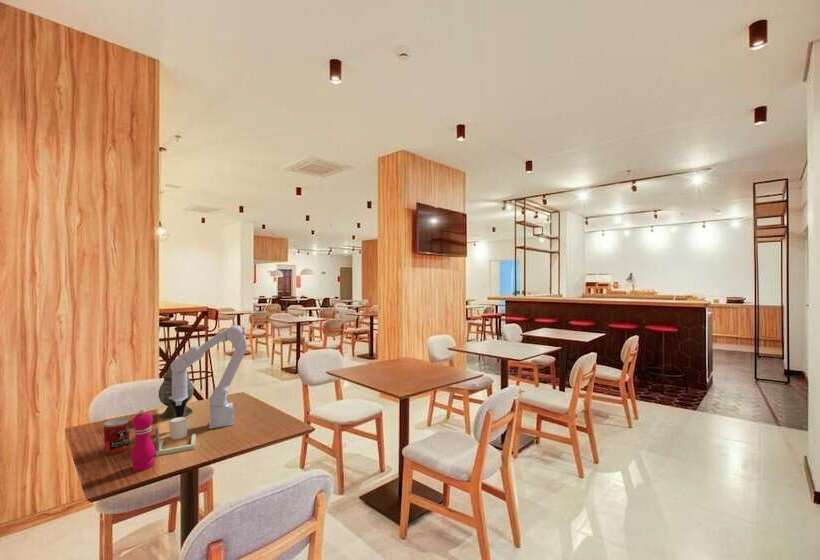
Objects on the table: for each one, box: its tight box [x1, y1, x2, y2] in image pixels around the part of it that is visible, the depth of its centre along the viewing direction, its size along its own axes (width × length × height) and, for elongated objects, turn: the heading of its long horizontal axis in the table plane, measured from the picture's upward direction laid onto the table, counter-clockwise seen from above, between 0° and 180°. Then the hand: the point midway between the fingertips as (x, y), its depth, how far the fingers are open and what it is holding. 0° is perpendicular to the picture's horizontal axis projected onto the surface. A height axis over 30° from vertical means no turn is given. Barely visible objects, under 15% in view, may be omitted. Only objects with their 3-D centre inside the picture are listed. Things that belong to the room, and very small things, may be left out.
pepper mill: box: [129, 408, 157, 472], centre depth 136 cm, size 7×7×20 cm
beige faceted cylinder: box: [168, 416, 189, 440], centre depth 161 cm, size 7×7×7 cm
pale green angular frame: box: [150, 427, 197, 457], centre depth 151 cm, size 15×12×10 cm
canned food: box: [103, 417, 130, 455], centre depth 149 cm, size 8×8×11 cm
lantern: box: [158, 365, 195, 421], centre depth 187 cm, size 14×14×25 cm
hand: (180, 417), depth 168 cm, fingers closed
